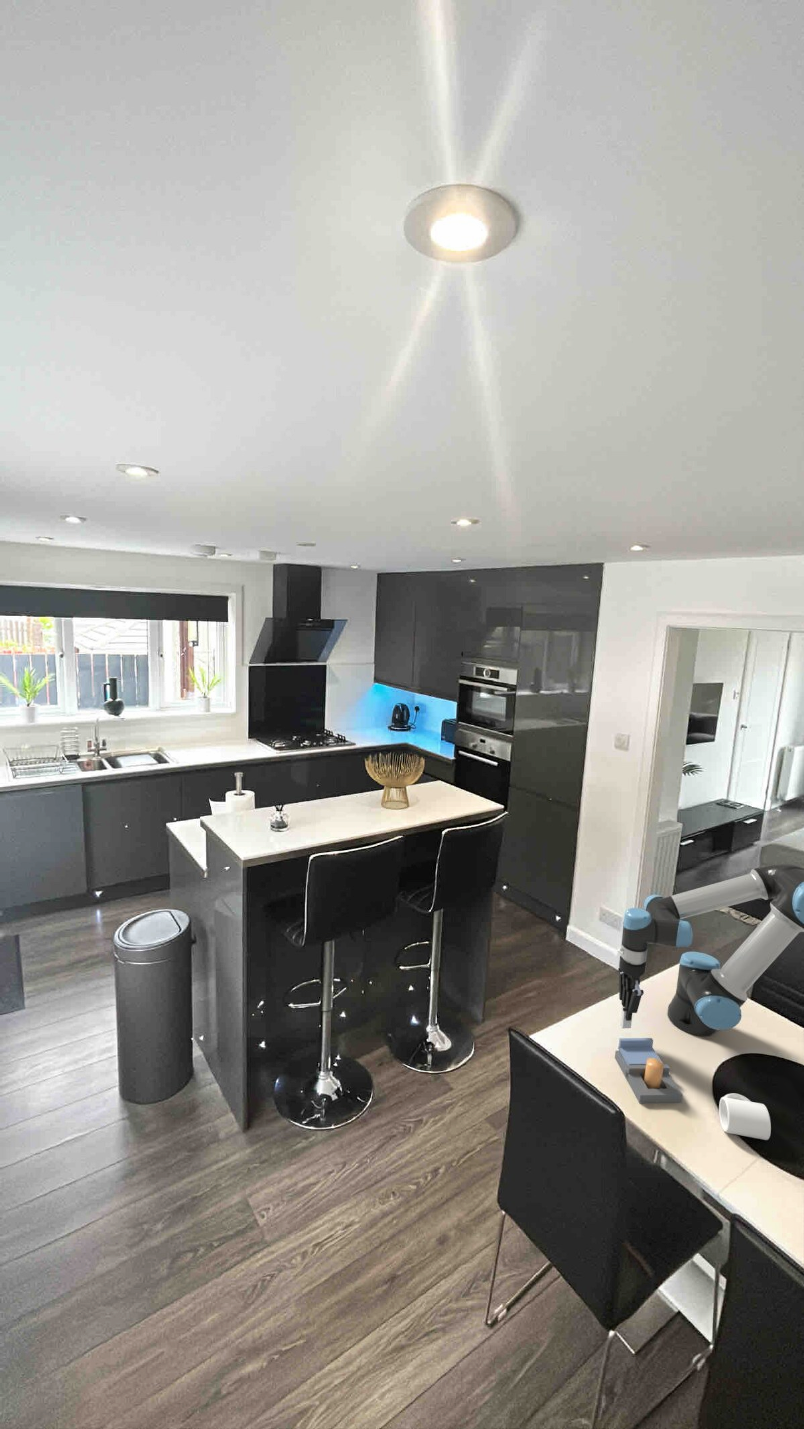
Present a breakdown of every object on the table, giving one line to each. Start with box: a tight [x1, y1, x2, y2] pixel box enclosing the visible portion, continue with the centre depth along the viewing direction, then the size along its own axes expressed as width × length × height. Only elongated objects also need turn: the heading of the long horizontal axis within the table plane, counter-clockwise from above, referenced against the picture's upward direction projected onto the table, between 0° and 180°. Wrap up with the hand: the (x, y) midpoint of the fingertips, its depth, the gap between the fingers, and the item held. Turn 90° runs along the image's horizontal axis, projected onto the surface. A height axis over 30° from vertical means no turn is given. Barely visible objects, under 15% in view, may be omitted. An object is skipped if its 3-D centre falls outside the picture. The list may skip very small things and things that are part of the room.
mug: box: [718, 1092, 772, 1141], centre depth 164 cm, size 12×10×8 cm
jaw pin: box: [644, 1058, 664, 1089], centre depth 175 cm, size 4×4×8 cm
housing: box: [614, 1050, 684, 1104], centre depth 179 cm, size 12×17×4 cm
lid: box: [618, 1037, 664, 1065], centre depth 183 cm, size 10×8×4 cm
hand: (625, 1026), depth 195 cm, fingers closed
